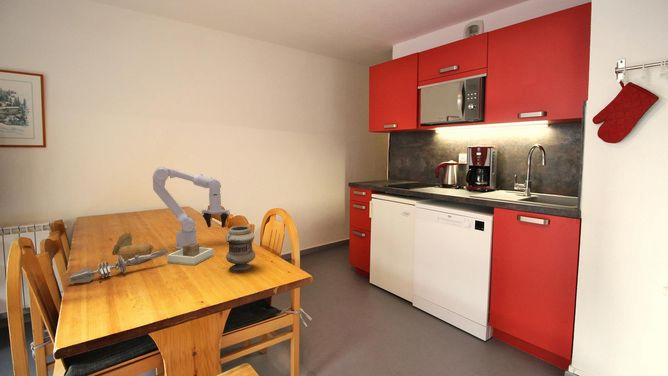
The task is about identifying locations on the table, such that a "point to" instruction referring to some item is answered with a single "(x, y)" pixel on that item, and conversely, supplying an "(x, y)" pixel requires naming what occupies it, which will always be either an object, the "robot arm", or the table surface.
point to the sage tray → (186, 260)
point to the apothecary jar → (240, 248)
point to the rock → (122, 242)
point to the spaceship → (111, 267)
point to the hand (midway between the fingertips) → (216, 227)
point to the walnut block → (190, 249)
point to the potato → (135, 250)
